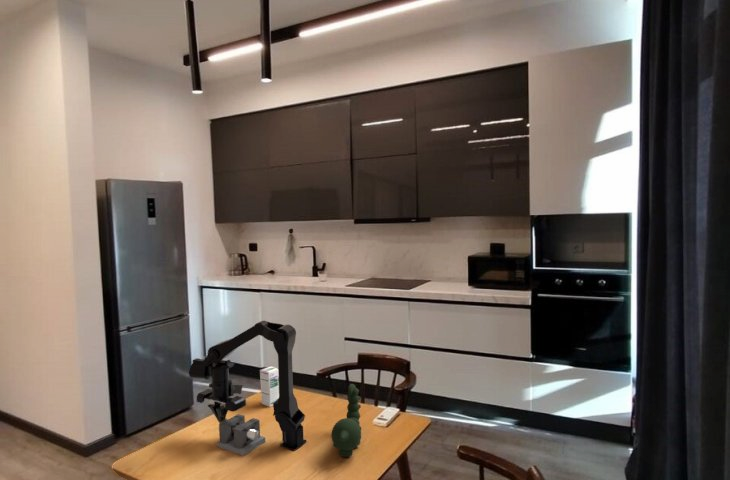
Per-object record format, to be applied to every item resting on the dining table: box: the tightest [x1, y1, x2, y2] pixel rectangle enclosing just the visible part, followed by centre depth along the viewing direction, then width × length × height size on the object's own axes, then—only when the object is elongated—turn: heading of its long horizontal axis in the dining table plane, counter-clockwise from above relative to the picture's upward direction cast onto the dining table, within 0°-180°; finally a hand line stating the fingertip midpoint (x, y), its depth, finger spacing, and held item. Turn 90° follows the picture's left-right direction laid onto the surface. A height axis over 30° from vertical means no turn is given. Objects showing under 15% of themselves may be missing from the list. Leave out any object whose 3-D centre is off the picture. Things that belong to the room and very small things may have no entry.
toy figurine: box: [331, 383, 362, 458], centre depth 141 cm, size 9×19×25 cm
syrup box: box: [259, 366, 279, 408], centre depth 177 cm, size 6×6×14 cm
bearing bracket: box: [217, 413, 266, 457], centre depth 144 cm, size 12×10×8 cm
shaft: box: [221, 418, 259, 441], centre depth 144 cm, size 15×5×5 cm, turn 60°
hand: (221, 423), depth 148 cm, fingers closed
